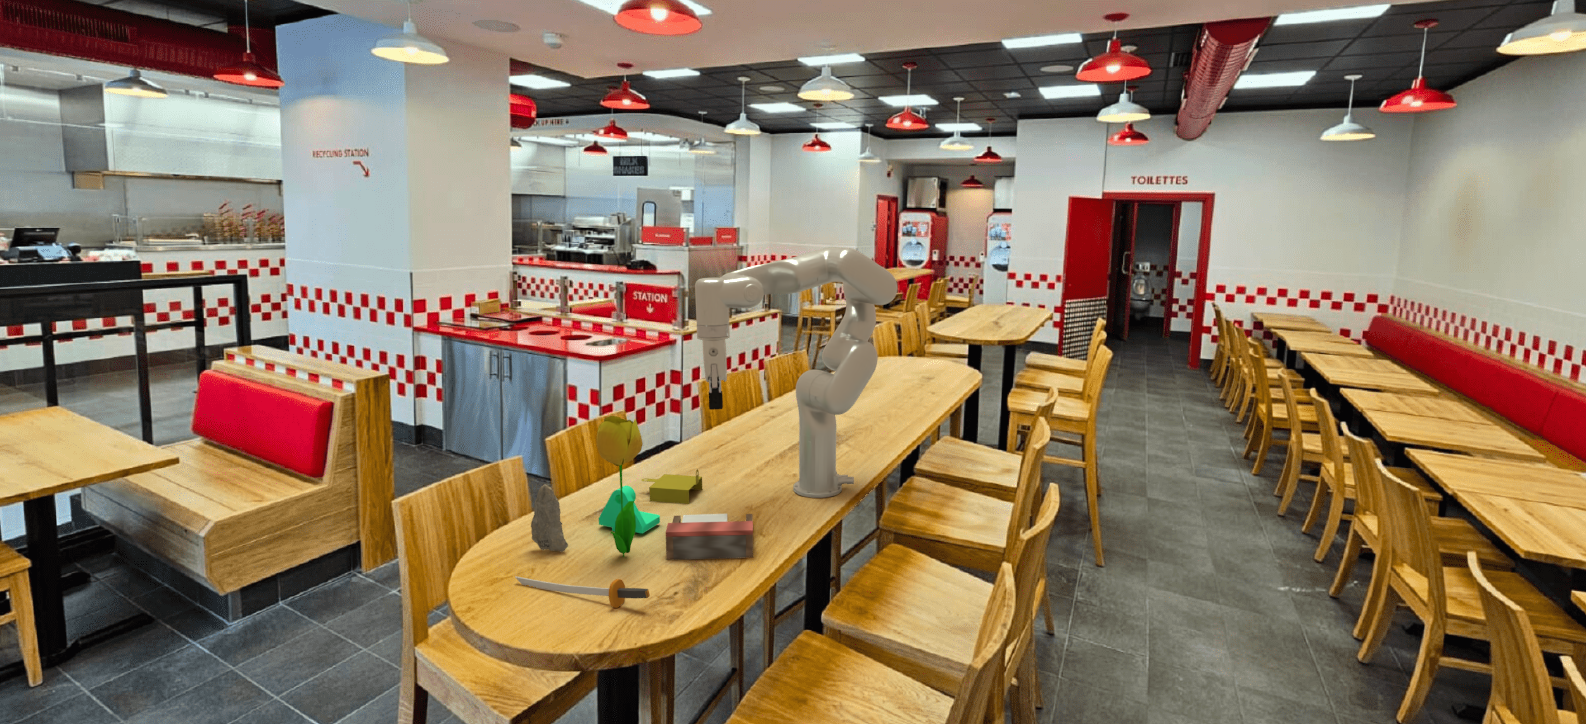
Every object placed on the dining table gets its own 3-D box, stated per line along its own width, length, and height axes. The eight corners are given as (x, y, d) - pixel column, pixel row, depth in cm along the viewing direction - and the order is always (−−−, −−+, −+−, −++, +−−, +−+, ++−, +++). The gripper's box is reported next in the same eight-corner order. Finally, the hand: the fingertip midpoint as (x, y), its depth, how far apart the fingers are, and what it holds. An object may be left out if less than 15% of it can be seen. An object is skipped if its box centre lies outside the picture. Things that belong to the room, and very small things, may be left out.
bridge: (752, 524, 183) (752, 499, 181) (753, 557, 165) (752, 530, 164) (674, 525, 182) (673, 501, 180) (666, 559, 164) (665, 532, 163)
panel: (727, 527, 182) (727, 513, 181) (727, 557, 166) (726, 541, 165) (683, 529, 181) (683, 514, 180) (679, 559, 165) (678, 543, 164)
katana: (508, 588, 152) (506, 564, 151) (523, 579, 156) (521, 555, 155) (643, 618, 140) (642, 592, 139) (656, 607, 144) (655, 581, 143)
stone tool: (572, 549, 169) (569, 482, 166) (564, 555, 166) (560, 487, 163) (538, 545, 171) (533, 479, 168) (529, 551, 168) (525, 484, 165)
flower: (623, 568, 160) (617, 425, 154) (595, 559, 164) (588, 419, 158) (652, 553, 167) (647, 415, 161) (624, 545, 171) (618, 410, 166)
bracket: (652, 456, 209) (706, 460, 206) (653, 484, 211) (707, 488, 208) (629, 475, 195) (686, 479, 192) (630, 505, 196) (687, 509, 193)
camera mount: (662, 525, 182) (660, 483, 180) (642, 538, 175) (640, 493, 173) (619, 517, 187) (617, 476, 185) (599, 529, 180) (597, 486, 178)
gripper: (729, 336, 175) (732, 416, 179) (729, 326, 190) (731, 400, 193) (695, 337, 175) (698, 417, 178) (698, 327, 189) (701, 401, 193)
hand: (716, 408), depth 186 cm, fingers closed
